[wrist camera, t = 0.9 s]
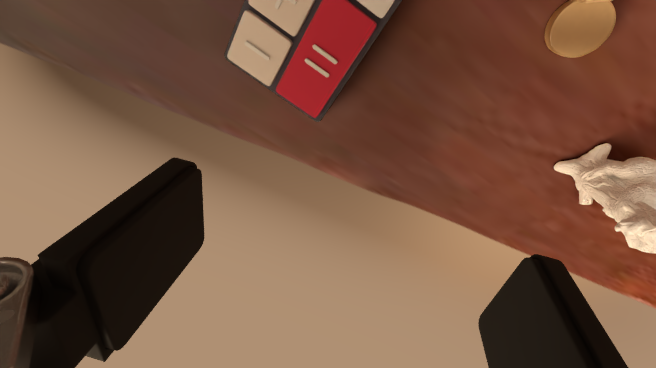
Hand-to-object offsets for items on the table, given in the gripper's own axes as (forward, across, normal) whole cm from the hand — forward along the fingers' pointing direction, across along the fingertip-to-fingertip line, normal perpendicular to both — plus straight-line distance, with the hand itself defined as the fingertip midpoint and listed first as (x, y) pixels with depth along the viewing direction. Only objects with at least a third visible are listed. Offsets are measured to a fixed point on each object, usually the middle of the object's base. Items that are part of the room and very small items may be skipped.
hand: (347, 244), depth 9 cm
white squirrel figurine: (+25, -23, +4) cm, 34 cm away
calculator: (+25, +7, -3) cm, 26 cm away
